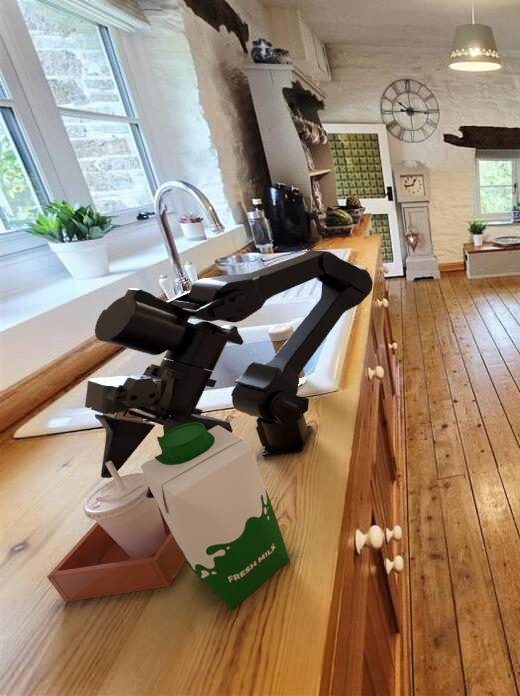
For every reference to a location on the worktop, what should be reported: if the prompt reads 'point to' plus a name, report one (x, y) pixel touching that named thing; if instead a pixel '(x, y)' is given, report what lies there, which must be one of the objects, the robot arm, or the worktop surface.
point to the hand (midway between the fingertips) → (127, 487)
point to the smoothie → (128, 514)
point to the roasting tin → (113, 567)
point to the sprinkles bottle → (281, 338)
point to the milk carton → (217, 509)
